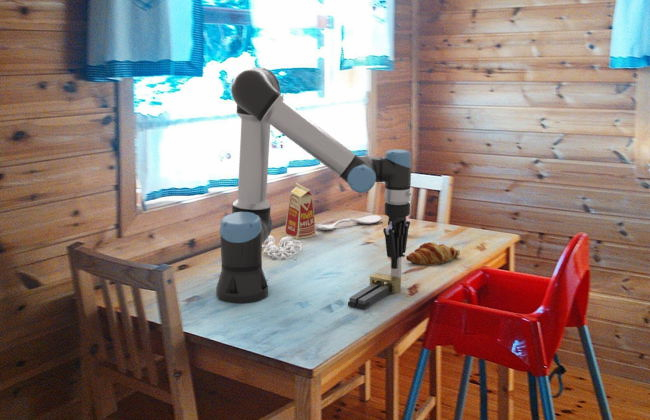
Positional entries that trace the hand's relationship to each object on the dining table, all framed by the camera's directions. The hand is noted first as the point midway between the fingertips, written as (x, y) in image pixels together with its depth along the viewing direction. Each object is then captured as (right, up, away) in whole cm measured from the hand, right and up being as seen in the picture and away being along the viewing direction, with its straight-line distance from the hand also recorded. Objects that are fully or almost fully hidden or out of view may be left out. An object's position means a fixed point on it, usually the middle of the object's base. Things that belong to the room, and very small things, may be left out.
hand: (395, 277), depth 223 cm
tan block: (-4, -3, -5) cm, 7 cm away
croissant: (+15, +3, +25) cm, 29 cm away
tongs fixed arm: (-7, -5, -10) cm, 13 cm away
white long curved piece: (-12, +14, +71) cm, 73 cm away
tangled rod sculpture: (-37, +6, +36) cm, 52 cm away
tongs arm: (-9, -5, -11) cm, 15 cm away
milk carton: (-31, +11, +57) cm, 66 cm away
